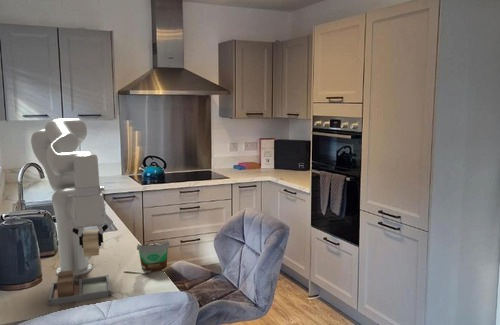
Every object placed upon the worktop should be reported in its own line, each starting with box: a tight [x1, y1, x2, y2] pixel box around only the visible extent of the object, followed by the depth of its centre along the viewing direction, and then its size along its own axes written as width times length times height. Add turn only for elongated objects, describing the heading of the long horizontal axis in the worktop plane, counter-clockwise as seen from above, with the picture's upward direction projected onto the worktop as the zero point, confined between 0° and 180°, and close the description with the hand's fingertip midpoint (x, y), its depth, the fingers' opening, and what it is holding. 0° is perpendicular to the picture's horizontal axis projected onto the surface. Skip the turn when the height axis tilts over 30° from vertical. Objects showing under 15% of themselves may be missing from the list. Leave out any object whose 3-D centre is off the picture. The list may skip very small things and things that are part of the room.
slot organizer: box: [48, 274, 112, 306], centre depth 149 cm, size 15×18×2 cm
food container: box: [136, 238, 171, 273], centre depth 168 cm, size 12×6×10 cm, turn 114°
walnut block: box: [56, 270, 75, 298], centre depth 148 cm, size 10×4×6 cm, turn 20°
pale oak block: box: [83, 228, 101, 257], centre depth 149 cm, size 10×4×6 cm, turn 17°
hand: (91, 245), depth 149 cm, fingers closed on pale oak block, 4 cm apart
